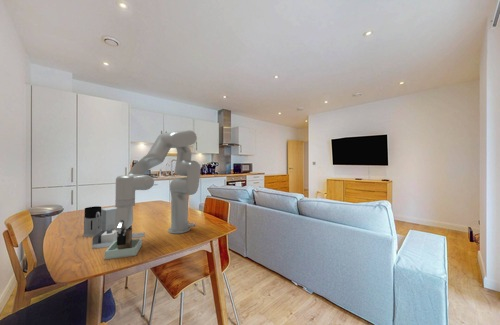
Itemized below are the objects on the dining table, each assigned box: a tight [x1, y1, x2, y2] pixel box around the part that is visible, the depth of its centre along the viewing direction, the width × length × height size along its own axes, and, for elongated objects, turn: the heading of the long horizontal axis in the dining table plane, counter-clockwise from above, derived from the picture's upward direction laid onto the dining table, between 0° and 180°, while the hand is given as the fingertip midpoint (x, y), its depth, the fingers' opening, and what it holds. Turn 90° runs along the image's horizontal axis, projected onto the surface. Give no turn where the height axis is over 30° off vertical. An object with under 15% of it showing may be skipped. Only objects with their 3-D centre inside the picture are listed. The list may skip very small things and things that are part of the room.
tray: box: [104, 237, 143, 260], centre depth 89 cm, size 12×12×4 cm
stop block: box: [118, 228, 133, 249], centre depth 89 cm, size 4×4×9 cm
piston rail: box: [91, 230, 146, 249], centre depth 100 cm, size 20×11×5 cm, turn 108°
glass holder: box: [82, 205, 102, 238], centre depth 109 cm, size 9×14×15 cm, turn 55°
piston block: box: [101, 229, 118, 243], centre depth 99 cm, size 5×6×7 cm
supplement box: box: [101, 206, 117, 231], centre depth 120 cm, size 7×7×13 cm
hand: (124, 240), depth 89 cm, fingers open, 9 cm apart
